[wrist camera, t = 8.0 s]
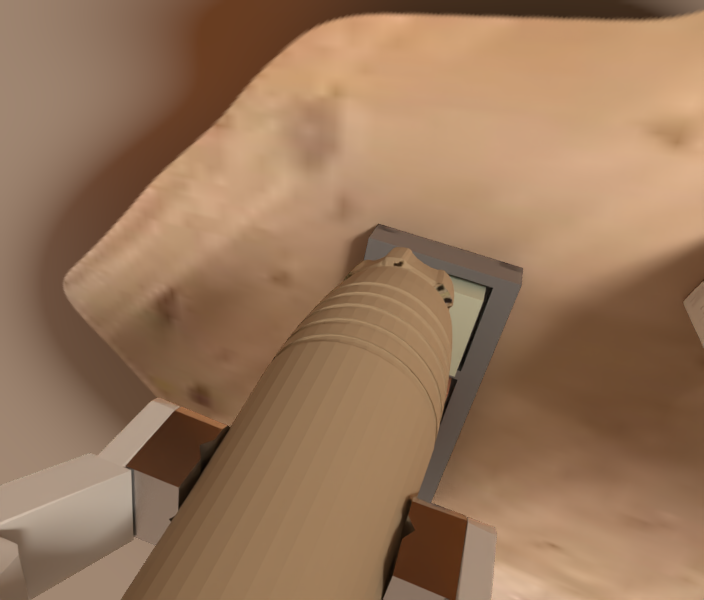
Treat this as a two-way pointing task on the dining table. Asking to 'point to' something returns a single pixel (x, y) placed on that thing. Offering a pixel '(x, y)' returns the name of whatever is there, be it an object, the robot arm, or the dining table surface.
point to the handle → (320, 451)
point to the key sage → (463, 315)
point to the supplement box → (696, 310)
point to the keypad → (484, 336)
